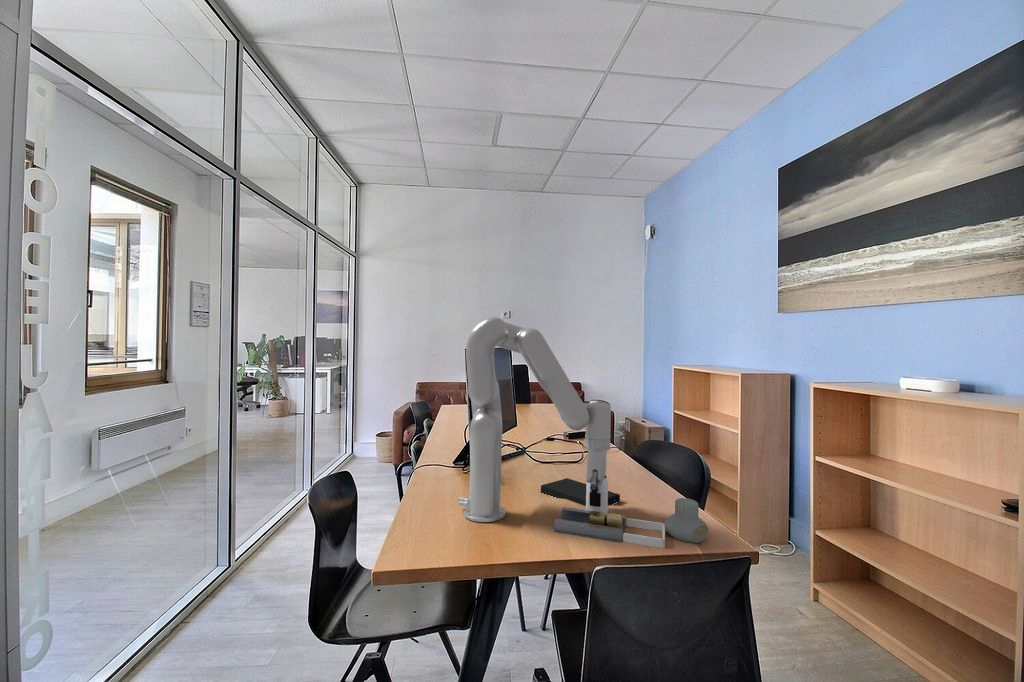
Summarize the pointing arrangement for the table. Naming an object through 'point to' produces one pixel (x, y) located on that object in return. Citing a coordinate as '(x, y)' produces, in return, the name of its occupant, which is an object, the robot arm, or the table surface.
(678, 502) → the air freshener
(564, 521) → the slot rail
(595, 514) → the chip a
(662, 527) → the tray
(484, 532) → the table surface
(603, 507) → the can
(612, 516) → the chip
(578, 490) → the external hard drive
